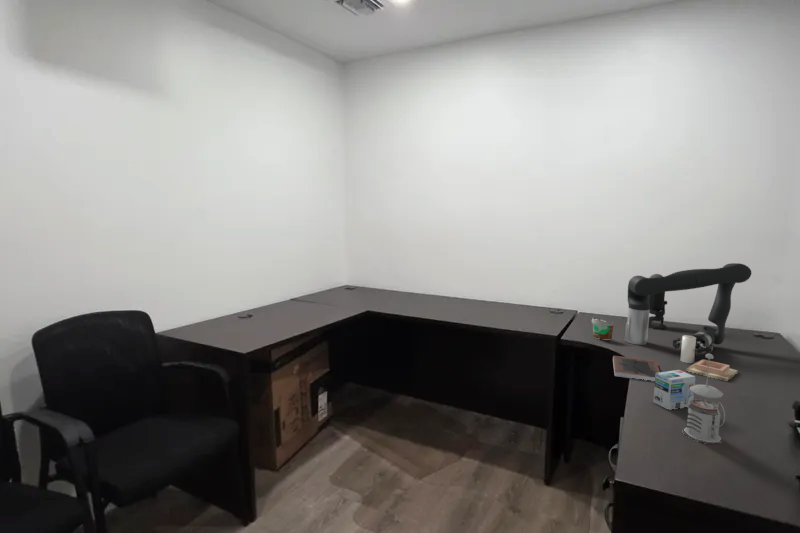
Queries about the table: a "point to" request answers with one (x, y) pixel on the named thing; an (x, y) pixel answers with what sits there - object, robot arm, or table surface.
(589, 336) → the table surface
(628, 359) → the picture frame
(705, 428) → the french press
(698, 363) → the roll holder
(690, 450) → the table surface
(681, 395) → the light bulb box
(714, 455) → the table surface
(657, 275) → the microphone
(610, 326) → the food container
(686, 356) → the paper roll
